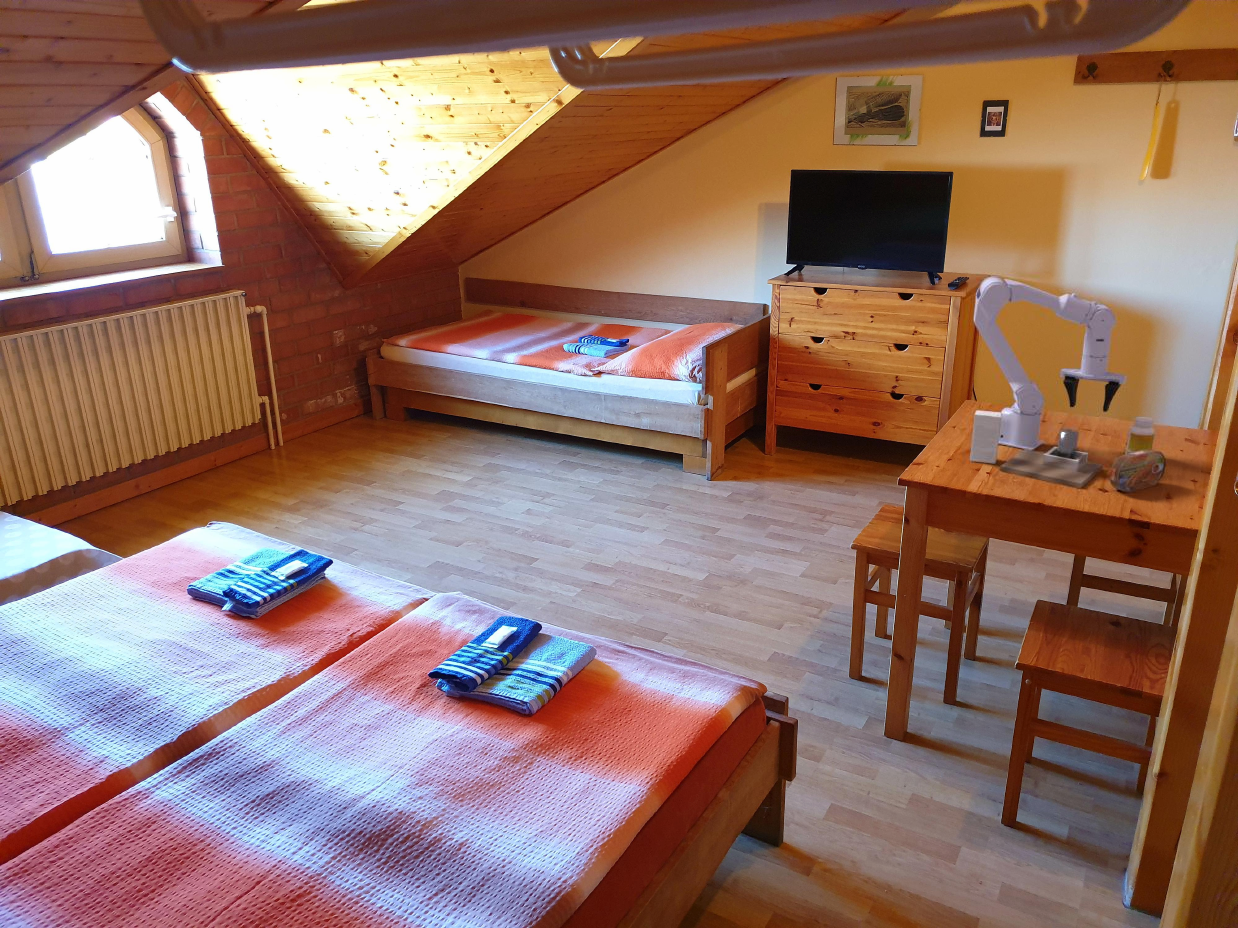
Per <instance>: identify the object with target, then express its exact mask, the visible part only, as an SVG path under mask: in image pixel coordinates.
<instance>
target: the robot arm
mask: <svg viewBox="0 0 1238 928" xmlns="http://www.w3.org/2000/svg"><path fill="white" fill-rule="evenodd" d="M1008 301H1009V302H1010V304H1014V303H1016V302H1020V301H1026V302H1028V303H1031V304H1034V305H1038V306H1041V307H1044V308H1047V309H1051V310H1053V311H1054V312H1053V313H1055V316H1056V317H1058V318H1060V319H1063V320H1066V321H1069V322H1073V323H1075V324H1078V325H1080V326H1084V325H1085V335H1084V338H1083V339H1084V340H1083V347H1082V348H1083V349H1082V354H1081V355H1082V356H1081V364H1080V369H1078V368H1062V369H1060V378H1062V379H1063V378H1064V380H1063V381H1062V382H1063V385H1064V387H1065V390H1066V392H1067V396H1068V402H1069V408H1074V407H1075V406H1076V403H1077V396H1078V395H1077V393H1078V386H1079V383H1080V380H1086V381H1087V380H1088V381H1095V382H1101V383H1103V382H1104V383H1107V384H1105V385H1104V402H1103V406H1102V412H1104V413H1107V412H1108V411H1109V408H1110V406H1111V402H1112V400H1113V399H1114V396H1115V395H1116V394H1117V392H1118V391H1119V389H1120V388H1121V386H1122V385H1125V384H1126V383H1127V375H1126V374H1125V375H1124V374H1120V373H1114V372H1109V371H1108V364H1109V363H1108V362H1109V357H1110V356H1109V355H1110V348H1111V339H1112V337H1111V336H1112V335H1111V334H1112V329H1113V328H1114V327H1115V326H1116V324H1117V319H1116V314H1115V313H1114V311H1113V310H1112V309H1110V308H1109V307H1107V306H1106V305H1104V304H1103V303H1101V302H1100V303H1099V302H1098V301H1095V300H1093V301H1090V300H1087V299H1085V298H1080V297H1079V294H1077V293H1074V292H1073V293H1072V294H1069V293H1066V294H1063V295H1061V296H1057V295H1054V294H1052V293H1051V292H1050V293H1049V292H1047V291H1043V289H1042V290H1041V289H1039V288H1037V287H1034V286H1031V285H1028V284H1026V283H1023V282H1020V281H1016V280H1012V279H1008V278H1004V279H1002V278H1001V277H999V276H994V275H993V276H989V277H986V278H985V279H983V280H982V282H980V285H979V286H978V289H977V290H976V293H975V304H974V313H973V323H974V325H975V327H976V329H977V330H978V332H979V334H980V336H981V337H982V339H983V341H984V342H985V344H986V346H987V347H988V349H989V352H991V354H992V356H993V358H994V360H995V361H996V363H997V365H998V366H999V368H1000V370H1001V371H1002V374H1003V375H1004V376H1005V379H1006V380H1007V381H1008V383H1009V385H1010V388H1011V389H1012V397H1013V399H1014V401H1015V402H1014V403H1013V405H1012V406H1011V407H1004V408H1003V409H1002V410H1001V413H1002V417H1001V426H1000V434H999V443H998V445H1004V446H1008V447H1013V448H1019V449H1023V450H1024V449H1027V450H1032V451H1035V449H1036V448H1038V447H1039V446H1041V445H1042V444H1043V443H1044V441H1043V440H1040V439H1039V434H1040V429H1041V428H1040V427H1041V422H1042V415H1043V408H1044V406H1045V401H1046V399H1045V396H1044V395H1043V392H1041V391H1040V388H1039V386H1038V385H1037V384H1036V383H1035V382H1033V381H1031V380H1030V377H1029V376H1028V375H1027V374H1026V372H1025V370H1024V368H1023V366H1022V365H1021V363H1020V362H1019V360H1018V357H1016V355H1015V353H1014V351H1013V349H1012V348H1011V346H1010V344H1009V342H1008V340H1007V339H1006V337H1005V336H1004V334H1003V332H1002V330H1001V329H1000V327H999V326H998V323H997V318H998V316H999V314H1000V311H1001V310H1002V309H1003V307H1005V306H1006V304H1007V303H1008Z"/></svg>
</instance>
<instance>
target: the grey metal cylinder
mask: <svg viewBox="0 0 1238 928" xmlns="http://www.w3.org/2000/svg"><path fill="white" fill-rule="evenodd" d="M1079 434H1080V433H1079V431H1077V430H1075V429H1069V428H1064V429H1060V430H1059V435H1058V443H1057V446H1056V447H1057V454H1056V456H1058V457H1063V458H1068V459H1073V460H1075V454H1076V451H1077V448H1078V439H1079Z"/></svg>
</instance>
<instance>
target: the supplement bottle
mask: <svg viewBox="0 0 1238 928" xmlns="http://www.w3.org/2000/svg"><path fill="white" fill-rule="evenodd" d="M1154 421H1155V420H1154V418H1150V417H1148V416H1147V417H1146V416H1135V418H1134V425H1132V426H1130V428H1129V433H1128V437H1127V441H1126V447H1125V454H1129V453H1134V452H1138V451H1142V450H1153V449H1152V448H1153V445H1154V438H1155V433H1156V432H1155V428H1154V427H1153V426H1154ZM1125 454H1124V455H1125Z"/></svg>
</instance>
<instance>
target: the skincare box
mask: <svg viewBox="0 0 1238 928" xmlns="http://www.w3.org/2000/svg"><path fill="white" fill-rule="evenodd" d="M1001 412H1002V411H1001ZM1001 412H1000V411H999V412H997V411H989V410H988V411H986V410H978V409H977V410H975V413H974V419H973V429H972V430H973V431H972V435H971V436H972V438H971V446H970V447H971V448H970V457H969V462H978V463H985V464H986V463H988V464H993V465H994V464H996V462H997V458H998V451H999V450H998V449H999V444H998V443H999V434H1000V426H1001V417H1002V413H1001Z"/></svg>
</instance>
